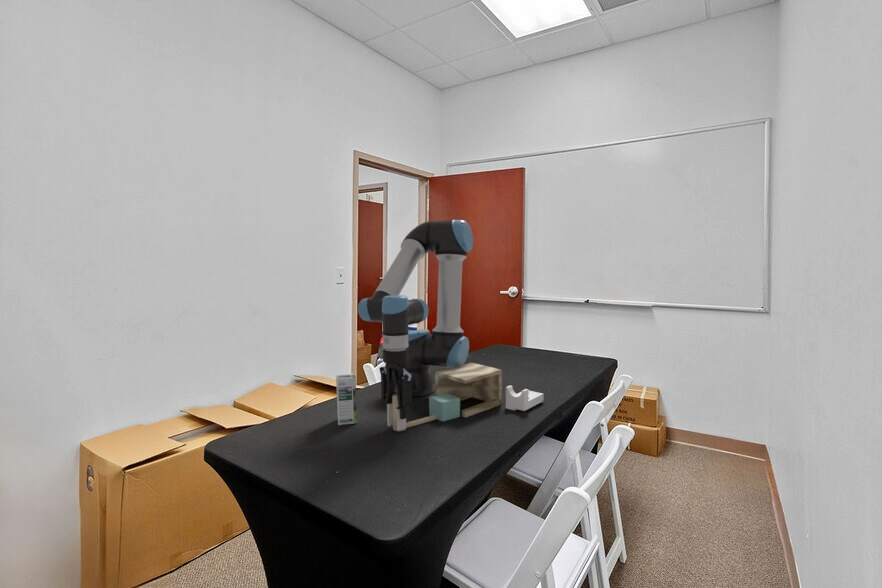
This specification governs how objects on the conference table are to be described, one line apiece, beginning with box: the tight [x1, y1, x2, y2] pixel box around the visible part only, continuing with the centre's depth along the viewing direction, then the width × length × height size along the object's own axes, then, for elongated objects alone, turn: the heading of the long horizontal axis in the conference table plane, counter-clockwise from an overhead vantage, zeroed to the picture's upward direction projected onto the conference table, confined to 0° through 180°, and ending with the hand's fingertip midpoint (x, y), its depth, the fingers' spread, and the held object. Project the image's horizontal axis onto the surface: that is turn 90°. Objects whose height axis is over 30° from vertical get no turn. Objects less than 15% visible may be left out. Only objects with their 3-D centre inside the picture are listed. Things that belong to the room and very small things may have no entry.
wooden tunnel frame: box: [434, 362, 503, 418], centre depth 148 cm, size 14×18×12 cm
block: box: [392, 393, 461, 432], centre depth 133 cm, size 7×22×10 cm, turn 128°
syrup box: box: [335, 373, 358, 426], centre depth 134 cm, size 6×6×14 cm
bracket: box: [505, 385, 544, 412], centre depth 148 cm, size 13×7×8 cm, turn 139°
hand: (396, 426), depth 127 cm, fingers closed on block, 4 cm apart
